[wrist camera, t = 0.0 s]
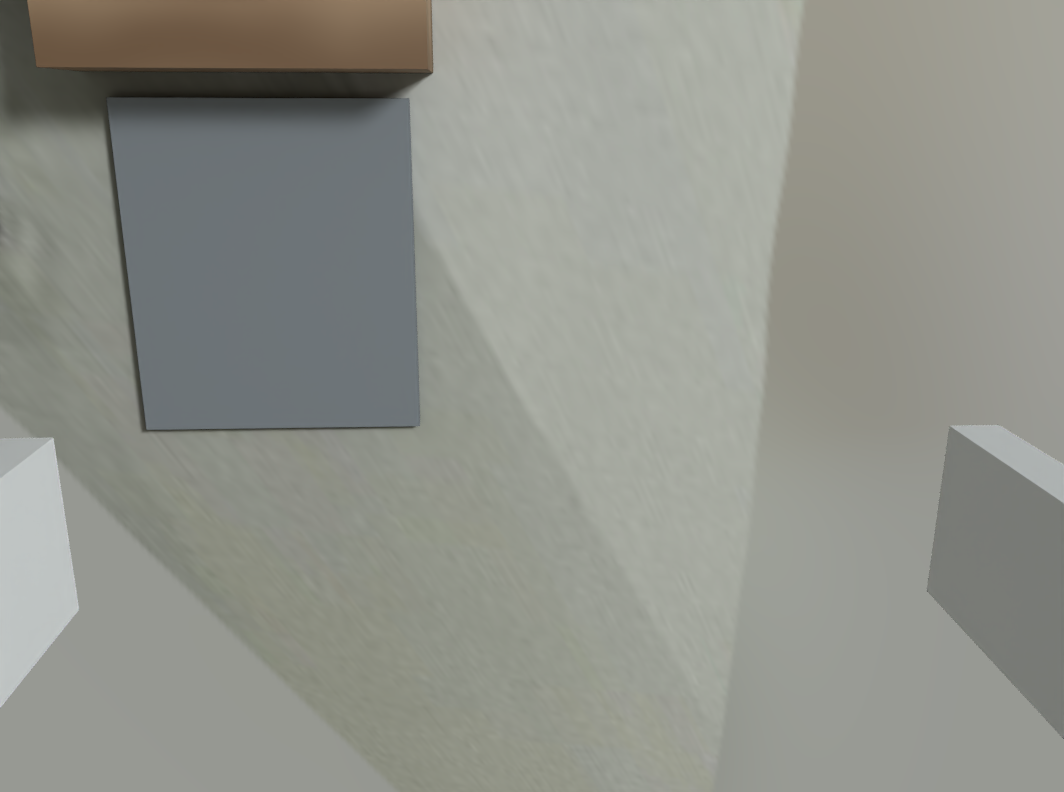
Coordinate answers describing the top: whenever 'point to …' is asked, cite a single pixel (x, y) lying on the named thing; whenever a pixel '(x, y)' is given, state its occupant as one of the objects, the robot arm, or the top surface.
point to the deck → (233, 35)
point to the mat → (270, 260)
